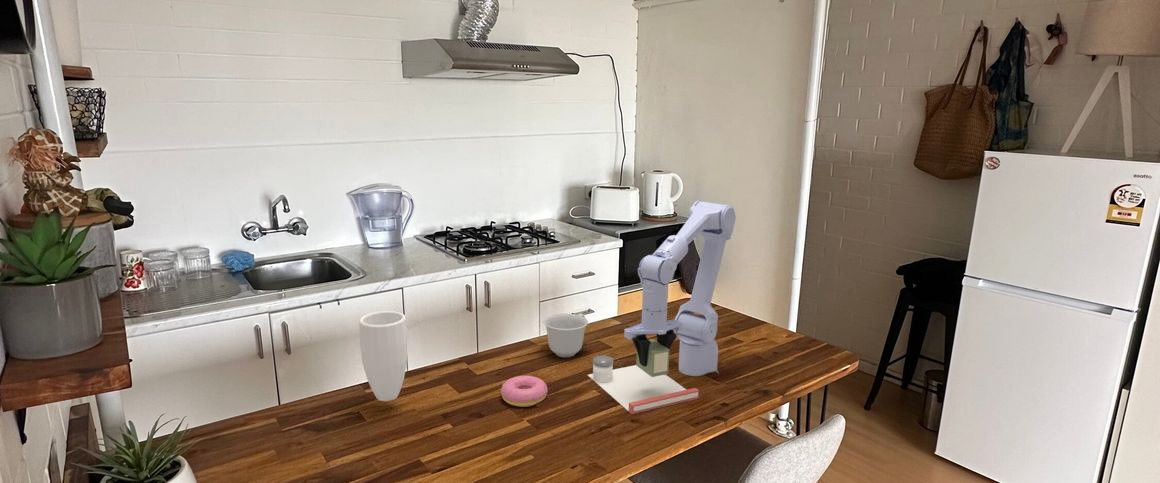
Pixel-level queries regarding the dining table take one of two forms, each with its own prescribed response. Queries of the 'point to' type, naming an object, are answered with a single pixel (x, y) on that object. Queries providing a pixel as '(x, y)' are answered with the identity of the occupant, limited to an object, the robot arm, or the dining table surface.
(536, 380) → the doughnut
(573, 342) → the teacup
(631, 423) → the dining table surface
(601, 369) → the spice jar
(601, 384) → the shelf board
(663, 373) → the carton
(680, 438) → the dining table surface
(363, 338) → the white vase
